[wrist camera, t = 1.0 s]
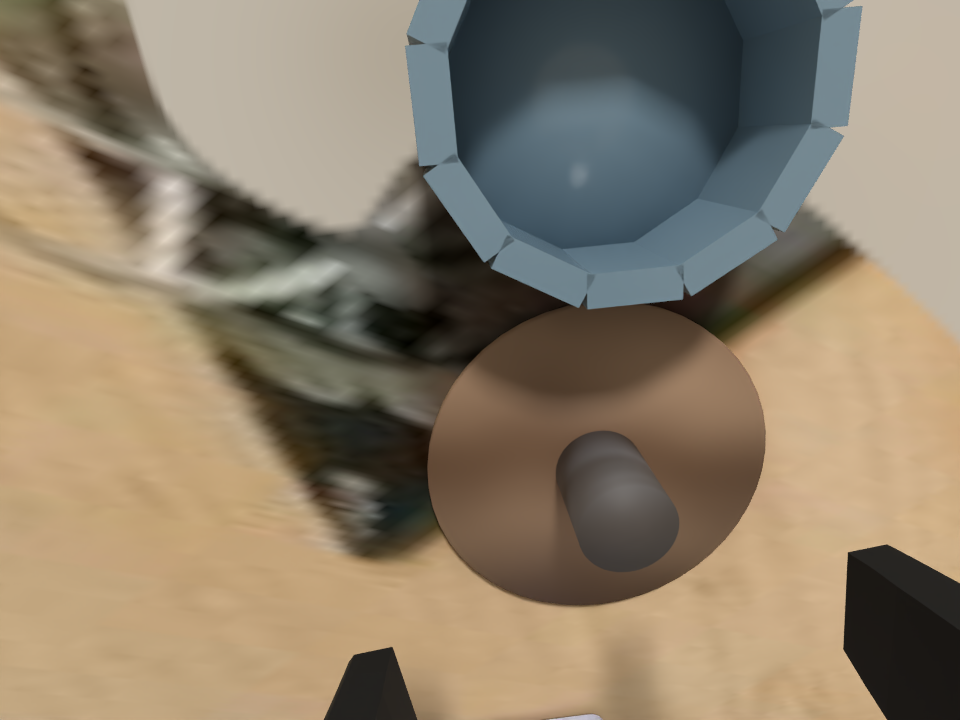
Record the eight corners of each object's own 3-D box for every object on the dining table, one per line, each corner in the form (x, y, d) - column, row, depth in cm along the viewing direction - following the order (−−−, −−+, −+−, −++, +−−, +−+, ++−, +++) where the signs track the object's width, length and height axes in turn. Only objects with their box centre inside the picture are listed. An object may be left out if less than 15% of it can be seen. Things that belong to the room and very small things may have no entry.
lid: (741, 570, 22) (804, 658, 18) (446, 605, 22) (448, 703, 18) (766, 279, 18) (852, 316, 14) (407, 316, 18) (400, 364, 14)
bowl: (743, 253, 17) (828, 284, 14) (437, 284, 17) (437, 325, 13) (770, -122, 14) (889, -215, 10) (394, -92, 14) (379, -176, 10)
